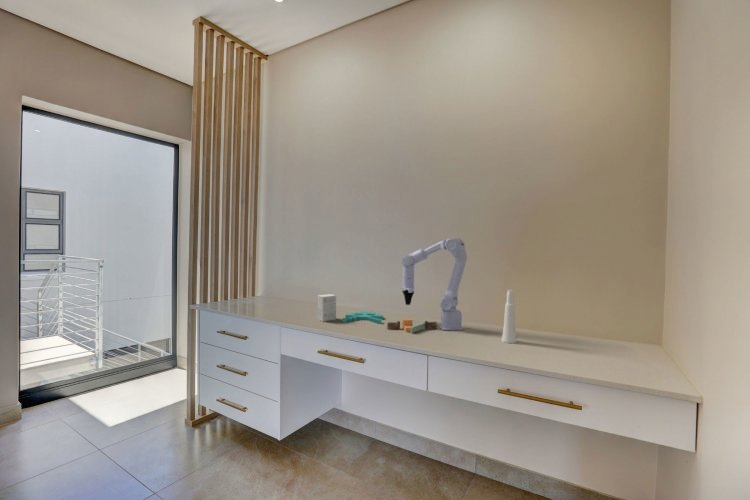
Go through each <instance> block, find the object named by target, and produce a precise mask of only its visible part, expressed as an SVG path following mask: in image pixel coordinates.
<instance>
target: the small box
mask: <svg viewBox="0 0 750 500" xmlns="http://www.w3.org/2000/svg"><path fill="white" fill-rule="evenodd" d="M316 301H317V312H316V313H317V317H316V319H317V320H318V321H320V320H321V321H320V322H323V321H324V322H329V321H336V320H337V295H335V294H332V293H328V294H318V295H317V300H316Z"/></svg>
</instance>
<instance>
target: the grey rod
mask: <svg viewBox="0 0 750 500" xmlns="http://www.w3.org/2000/svg"><path fill="white" fill-rule="evenodd" d="M423 329H425V322H421V323H419V324H416V325H413V327H411V332H410V333H411V334H413V333H416V332H418V331H420V330H421V331H422V330H423Z"/></svg>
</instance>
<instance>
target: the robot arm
mask: <svg viewBox="0 0 750 500" xmlns="http://www.w3.org/2000/svg"><path fill="white" fill-rule="evenodd" d="M441 250H446V251H448V252H449V253H451V255H452V256H453V257H454V259H455V261H454V263H453V267H452V270H451V274H450V278H449V281H448V284H447V289H446V290H445V293H444V294H443V298H441V299H440V301H439V307H440V310H441V313H440V314H441V316H440V318H441V319H440V324H438V327H439V328H440V329H441V330H442V331H462V330H463V328H462V327H463V326H462V322H463V320H462V319H463V318H462V315H463V314H462V312H461V310H459V309H457V306H458V303H459V301H458V297H459V294H458V293H459V292H458V291H459V288H460V284H461V282H462V281H461V280H462V277H463V274H464V271H465V267H466V264H467V260H468V255H467V251H466V245H465V243H464V242H463V240H462V239H461V238H458V237H449V238H447V239H443V240H441V241H439V242H437V243H435V244H433V245H431V246H429V247H427V248H420V247H419V248H417V250H415V251H412V252H409V254H405V255H403V256H402V257H401V258H400V259H401V261H400V262H401V264H402V286H400V289H403V290H402V291H401V292H402V294H403V296H404V297H403V298H404V304H405V305H406V306H409V305H411V303H412V298H413V296H414V293H415V291H414V289H415V265H416V264H418V263H420V262H422V261H424V260H426V259H428V256H430V255H432V254H434V253H436V252H440V251H441Z"/></svg>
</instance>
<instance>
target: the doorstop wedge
mask: <svg viewBox="0 0 750 500" xmlns="http://www.w3.org/2000/svg"><path fill="white" fill-rule="evenodd" d="M413 326H414V325H413V319H412V318H401V329H402V330H403V331H404V332H405V333H411V327H413Z"/></svg>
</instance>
